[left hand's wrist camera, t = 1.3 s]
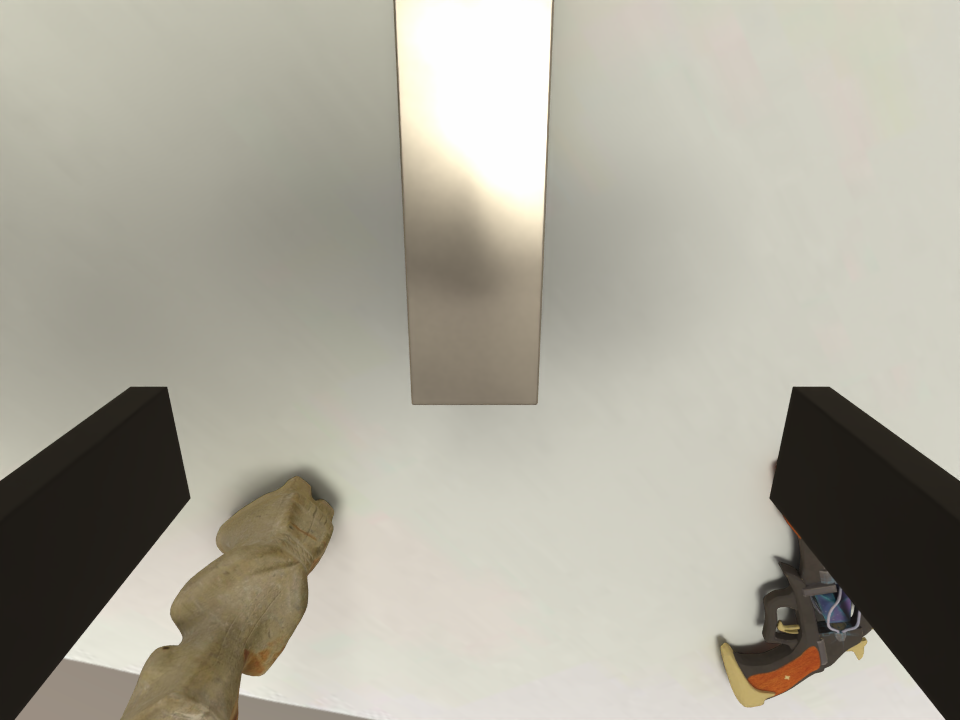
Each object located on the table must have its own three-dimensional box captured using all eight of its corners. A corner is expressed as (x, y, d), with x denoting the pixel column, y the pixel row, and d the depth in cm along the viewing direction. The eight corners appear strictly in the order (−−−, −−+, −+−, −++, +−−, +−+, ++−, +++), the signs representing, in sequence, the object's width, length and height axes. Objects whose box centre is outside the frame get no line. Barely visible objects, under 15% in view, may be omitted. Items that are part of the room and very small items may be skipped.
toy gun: (739, 721, 40) (899, 704, 38) (682, 485, 35) (864, 450, 33) (728, 687, 43) (878, 670, 40) (674, 463, 37) (843, 428, 35)
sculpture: (212, 507, 37) (47, 740, 23) (300, 450, 35) (182, 660, 21) (275, 569, 38) (158, 820, 24) (361, 516, 37) (289, 752, 23)
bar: (522, 334, 33) (537, 405, 24) (428, 334, 33) (411, 405, 24) (537, -207, 24) (570, -392, 16) (411, -208, 24) (375, -393, 16)
